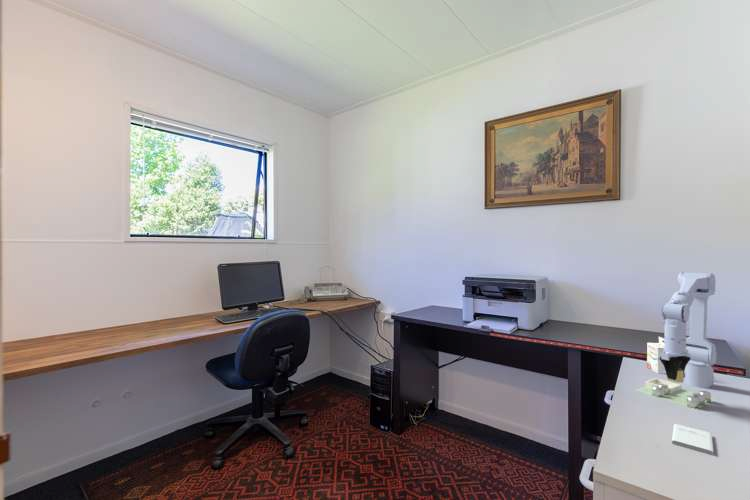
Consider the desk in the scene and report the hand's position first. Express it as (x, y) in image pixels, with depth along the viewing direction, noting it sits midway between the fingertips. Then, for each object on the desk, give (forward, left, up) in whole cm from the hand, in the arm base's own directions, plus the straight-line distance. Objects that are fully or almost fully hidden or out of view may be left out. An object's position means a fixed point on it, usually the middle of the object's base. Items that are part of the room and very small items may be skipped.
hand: (674, 377), depth 121 cm
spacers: (-4, 0, -8) cm, 9 cm away
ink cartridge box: (-30, -18, -9) cm, 36 cm away
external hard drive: (+25, +14, -9) cm, 30 cm away
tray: (-9, -7, -8) cm, 14 cm away
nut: (0, 0, -1) cm, 1 cm away
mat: (-6, -2, -8) cm, 11 cm away
